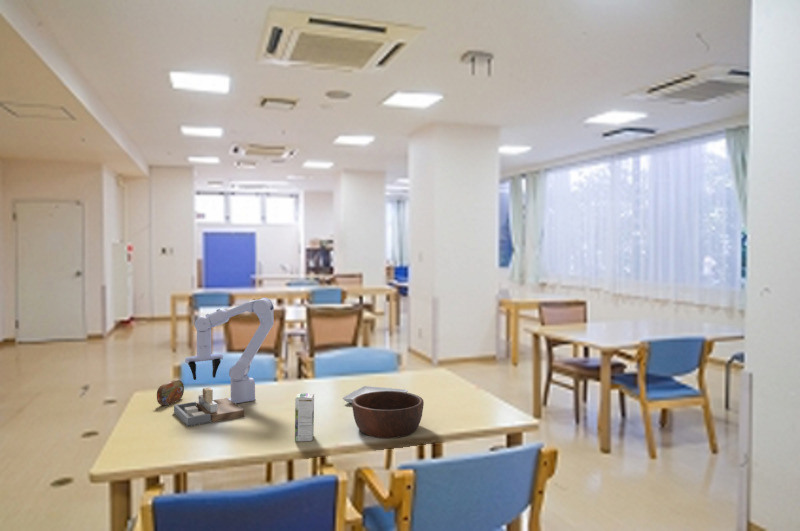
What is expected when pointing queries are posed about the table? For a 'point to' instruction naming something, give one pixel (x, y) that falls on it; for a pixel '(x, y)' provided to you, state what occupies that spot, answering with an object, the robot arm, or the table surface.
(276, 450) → the table surface
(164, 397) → the tin
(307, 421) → the syrup box
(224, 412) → the board
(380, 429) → the wooden bowl
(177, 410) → the box
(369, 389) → the salad plate
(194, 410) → the tile
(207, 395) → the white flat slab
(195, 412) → the tile
